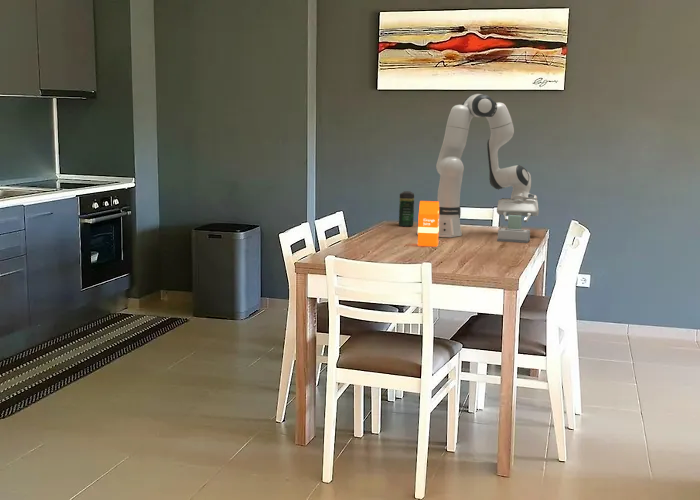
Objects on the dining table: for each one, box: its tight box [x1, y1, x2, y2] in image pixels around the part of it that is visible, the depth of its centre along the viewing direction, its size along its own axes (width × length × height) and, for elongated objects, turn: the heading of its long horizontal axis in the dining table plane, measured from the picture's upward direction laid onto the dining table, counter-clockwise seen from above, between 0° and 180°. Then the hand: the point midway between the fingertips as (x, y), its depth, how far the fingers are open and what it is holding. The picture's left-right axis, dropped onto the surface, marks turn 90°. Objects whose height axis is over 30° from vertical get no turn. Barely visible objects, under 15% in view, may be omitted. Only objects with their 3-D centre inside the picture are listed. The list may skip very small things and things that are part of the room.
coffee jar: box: [398, 190, 415, 228], centre depth 413 cm, size 10×8×19 cm
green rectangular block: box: [507, 215, 523, 229], centre depth 375 cm, size 4×6×11 cm, turn 69°
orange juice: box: [417, 200, 440, 247], centre depth 351 cm, size 8×9×20 cm
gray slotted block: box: [496, 227, 531, 244], centre depth 368 cm, size 14×10×5 cm
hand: (515, 220), depth 377 cm, fingers open, 8 cm apart
